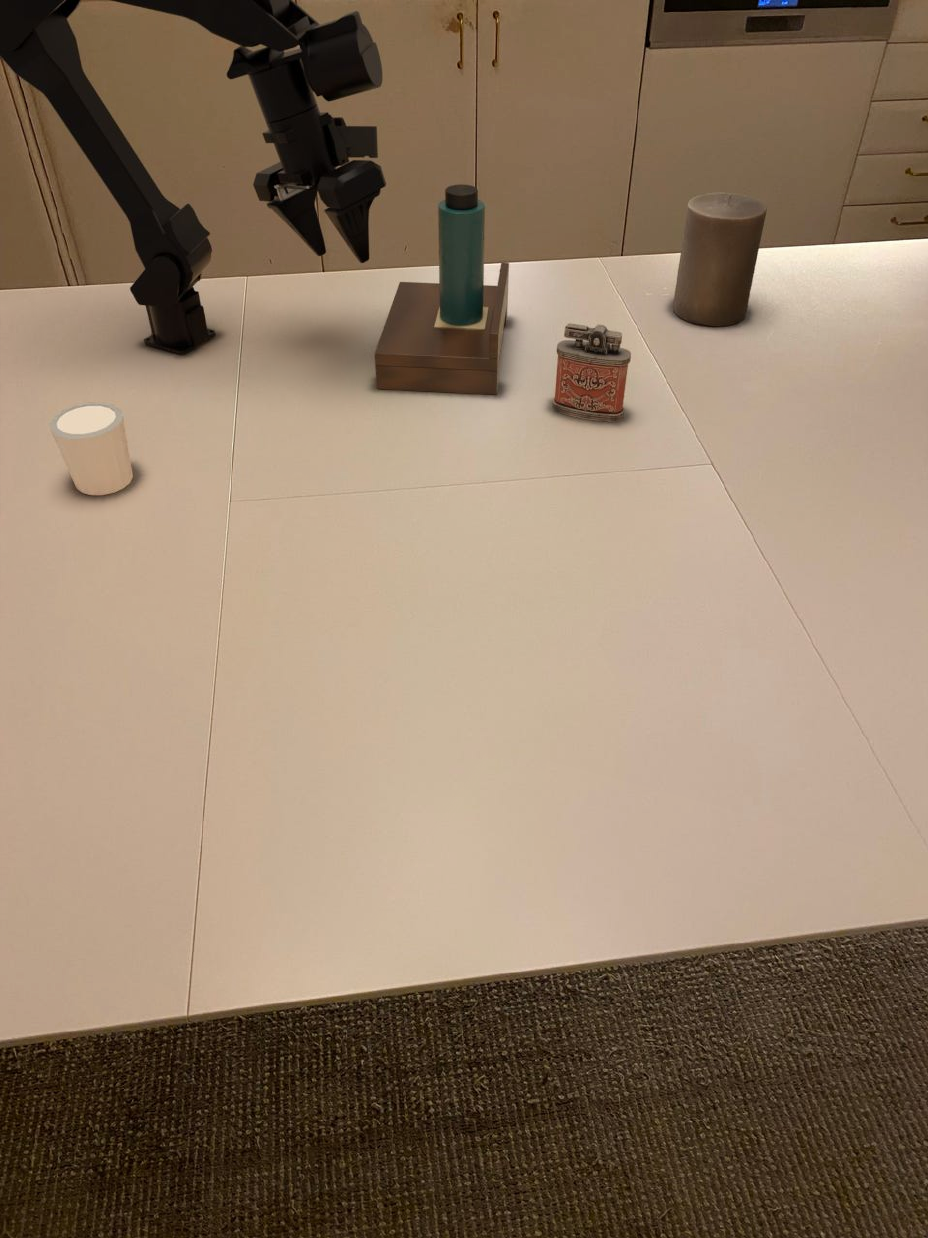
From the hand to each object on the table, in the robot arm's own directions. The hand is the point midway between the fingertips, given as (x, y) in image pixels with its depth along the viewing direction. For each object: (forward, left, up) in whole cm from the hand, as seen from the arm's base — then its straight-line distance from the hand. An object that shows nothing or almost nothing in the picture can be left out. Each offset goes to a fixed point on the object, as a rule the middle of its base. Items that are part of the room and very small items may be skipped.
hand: (343, 257), depth 109 cm
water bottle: (+12, +7, -7) cm, 15 cm away
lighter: (+31, +1, -12) cm, 33 cm away
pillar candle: (+35, +33, -12) cm, 50 cm away
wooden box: (+10, +6, -12) cm, 17 cm away
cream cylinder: (-7, -35, -12) cm, 38 cm away
